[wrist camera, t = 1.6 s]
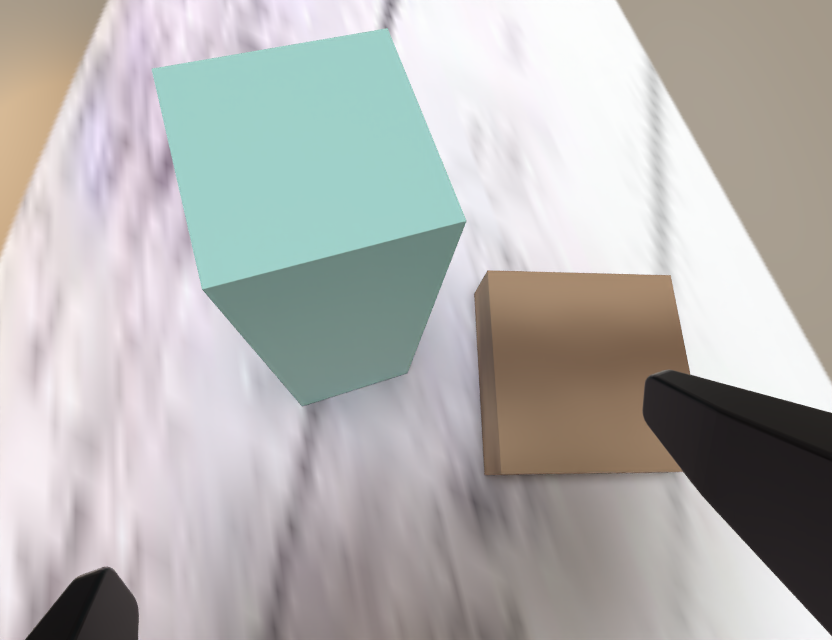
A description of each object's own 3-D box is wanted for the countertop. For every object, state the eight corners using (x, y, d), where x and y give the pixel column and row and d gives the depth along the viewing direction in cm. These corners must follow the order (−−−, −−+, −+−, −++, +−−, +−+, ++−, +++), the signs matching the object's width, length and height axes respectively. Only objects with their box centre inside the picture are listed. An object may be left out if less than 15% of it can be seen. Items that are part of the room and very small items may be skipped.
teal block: (407, 373, 21) (466, 220, 9) (302, 406, 20) (202, 289, 8) (375, 278, 22) (387, 28, 10) (274, 306, 21) (151, 68, 9)
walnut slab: (663, 472, 21) (709, 470, 18) (482, 475, 20) (501, 473, 17) (634, 300, 24) (670, 275, 21) (472, 296, 23) (487, 270, 20)
